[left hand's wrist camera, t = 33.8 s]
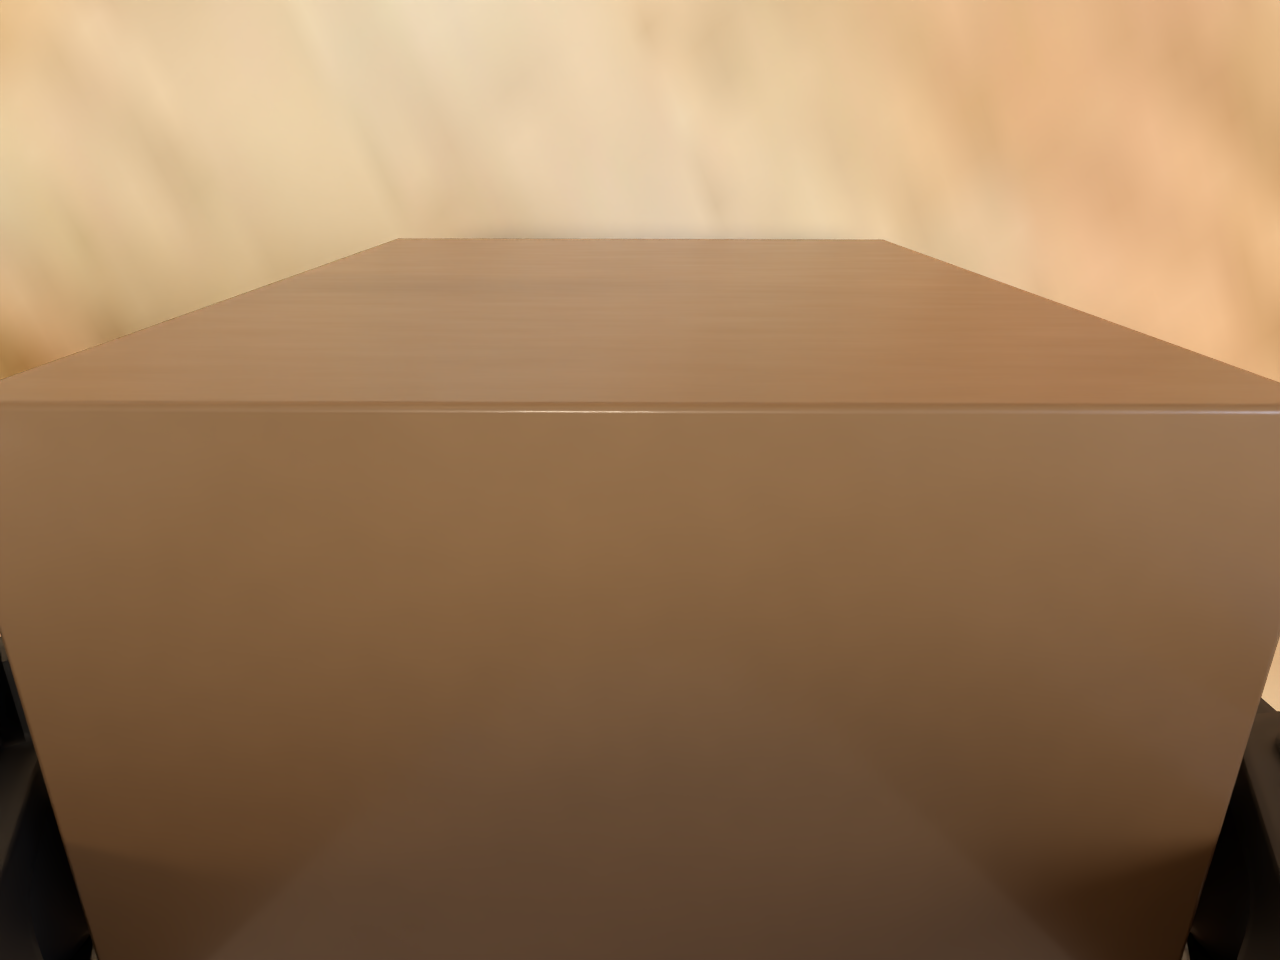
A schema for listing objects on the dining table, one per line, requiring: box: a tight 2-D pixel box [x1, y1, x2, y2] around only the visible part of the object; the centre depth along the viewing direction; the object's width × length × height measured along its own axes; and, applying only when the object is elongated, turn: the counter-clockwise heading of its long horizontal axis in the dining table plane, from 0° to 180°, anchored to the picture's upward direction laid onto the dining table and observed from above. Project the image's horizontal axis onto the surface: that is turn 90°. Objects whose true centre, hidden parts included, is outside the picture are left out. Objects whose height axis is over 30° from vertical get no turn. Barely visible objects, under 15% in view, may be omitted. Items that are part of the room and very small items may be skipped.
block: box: [0, 239, 1280, 960], centre depth 11 cm, size 8×8×10 cm
